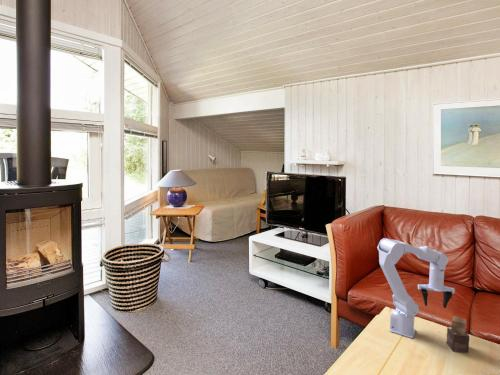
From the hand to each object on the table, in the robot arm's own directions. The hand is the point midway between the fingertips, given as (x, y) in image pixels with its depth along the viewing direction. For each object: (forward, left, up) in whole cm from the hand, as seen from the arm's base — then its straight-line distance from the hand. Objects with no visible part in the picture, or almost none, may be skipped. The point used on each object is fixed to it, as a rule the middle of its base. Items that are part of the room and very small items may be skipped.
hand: (434, 305), depth 144 cm
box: (+10, -12, -11) cm, 19 cm away
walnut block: (+10, -12, -3) cm, 16 cm away
